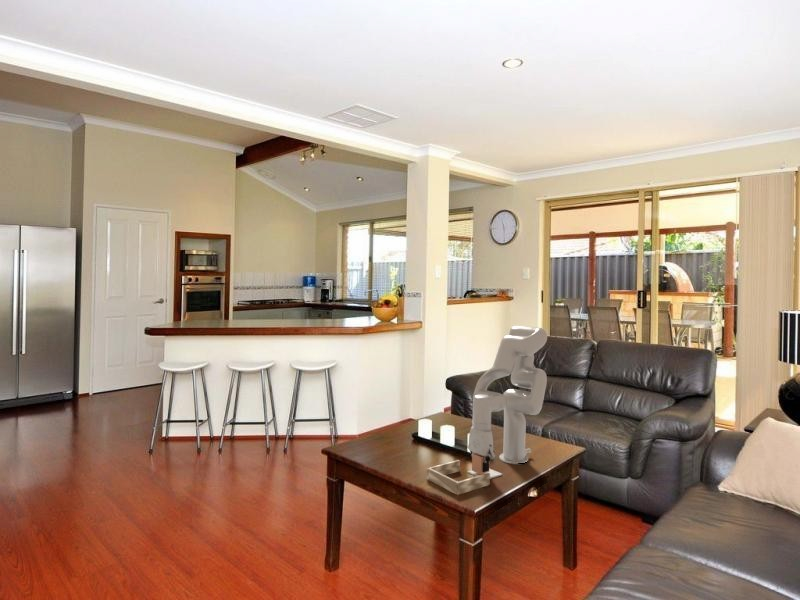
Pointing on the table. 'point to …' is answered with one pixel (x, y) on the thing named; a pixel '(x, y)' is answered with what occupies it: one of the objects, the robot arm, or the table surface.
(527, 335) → the robot arm
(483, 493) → the table surface
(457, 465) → the birch box
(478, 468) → the terracotta cube
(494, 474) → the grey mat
